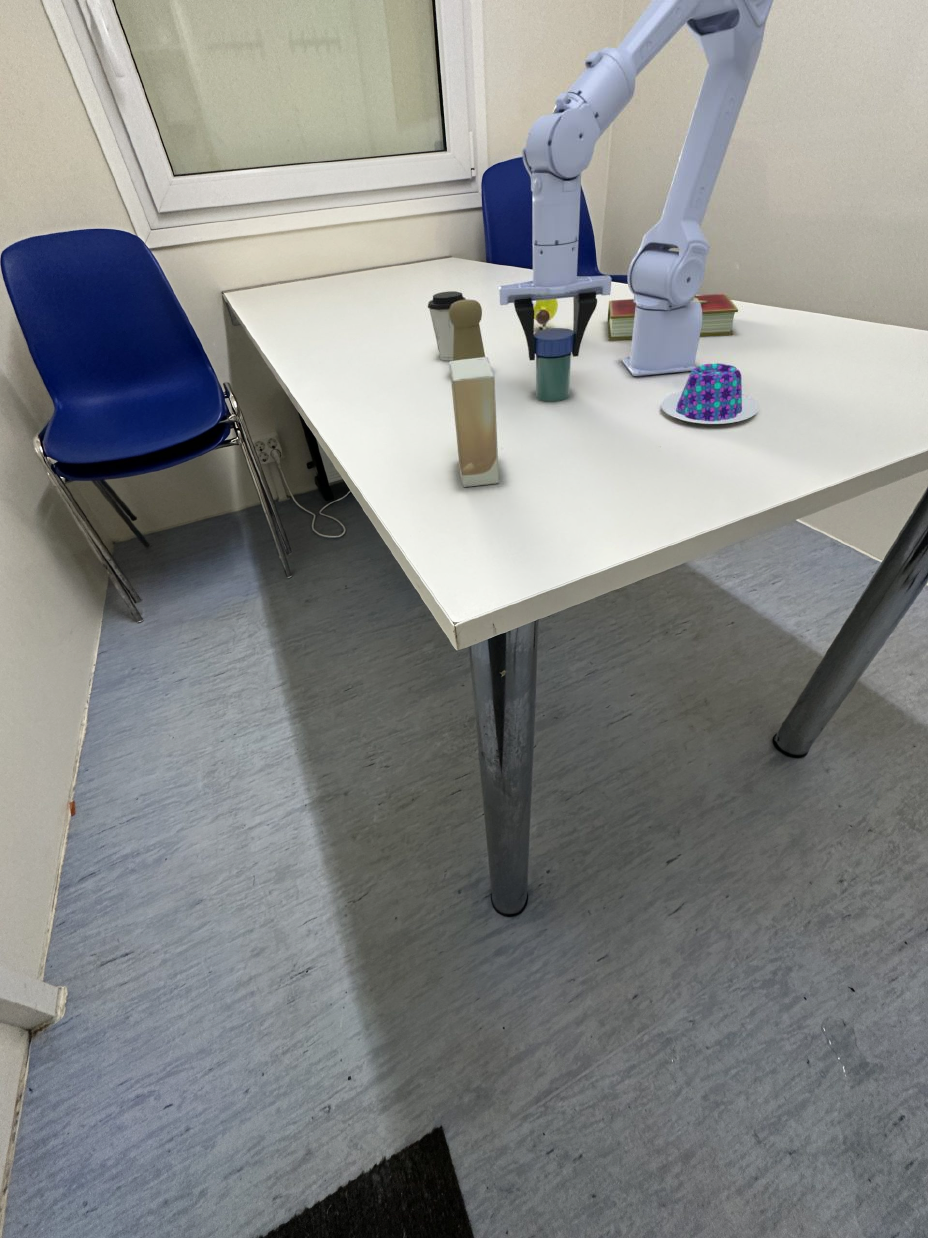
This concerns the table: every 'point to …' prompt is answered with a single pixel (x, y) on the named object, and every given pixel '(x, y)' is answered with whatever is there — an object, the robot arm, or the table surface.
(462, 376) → the cosmetic box
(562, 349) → the lid
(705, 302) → the hardcover book
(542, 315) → the toy figure
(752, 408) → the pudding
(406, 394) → the table surface
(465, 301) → the cork
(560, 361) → the jar
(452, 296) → the coffee cup
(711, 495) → the table surface
